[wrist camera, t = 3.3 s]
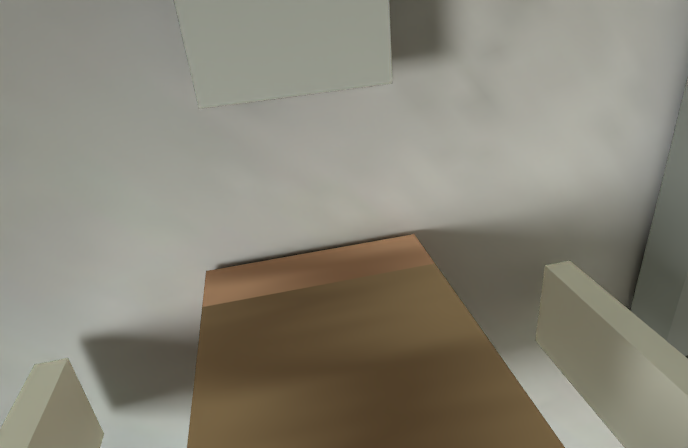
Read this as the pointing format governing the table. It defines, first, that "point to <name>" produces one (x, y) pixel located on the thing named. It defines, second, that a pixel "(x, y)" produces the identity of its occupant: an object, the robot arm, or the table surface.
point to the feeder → (283, 47)
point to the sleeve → (351, 358)
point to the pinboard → (668, 248)
